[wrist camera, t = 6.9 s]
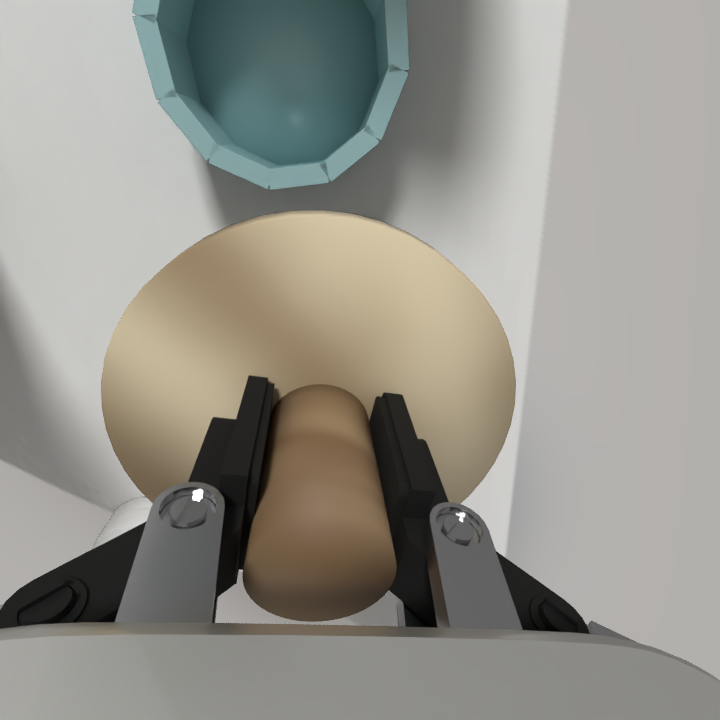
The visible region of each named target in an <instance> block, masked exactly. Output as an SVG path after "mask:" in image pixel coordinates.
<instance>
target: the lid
mask: <svg viewBox="0 0 720 720" xmlns="http://www.w3.org/2000/svg"><path fill="white" fill-rule="evenodd" d="M249 375H251V376H259V377H267V378H268V383H275V386H274V394H273V402H272V409H271V417H270V423H269V429H268V435H267V441H266V447H265V453H264V459H263V465H262V471H261V477H260V483H259V489H258V495H257V501H256V507H255V513H254V519H253V522H252V525H251V528H250V533H249V539H248V545H247V551H246V557H245V562H244V568H243V583H244V587H245V589H246V592H247V593H248V595H249V596H250V598H251V599H252V600H253V601H254V602H255V603H256V604H257V605H259V606H260V607H261V608H263V609H265V610H266V611H268V612H270V613H272V614H275V615H278V616H280V617H283V618H287V619H292V620H298V621H328V620H334V619H339V618H343V617H347V616H350V615H353V614H356V613H358V612H360V611H362V610H364V609H366V608H368V607H370V606H371V605H373V604H374V603H376V602H377V601H378V600H379V599H380V598H382V597H383V596H384V595H385V593H386V592H387V591H388V590H389V588H390V587H391V585H392V583H393V581H394V579H395V575H396V569H397V564H396V558H395V553H394V548H393V543H392V537H391V532H390V527H389V522H388V517H387V511H386V506H385V501H384V496H383V491H382V485H381V480H380V475H379V470H378V465H377V459H376V454H375V449H374V444H373V438H372V433H371V428H370V423H369V421H370V417H371V413H372V409H373V405H374V401H375V398H376V397H377V396H380V397H382V394H383V393H384V392H386V393H394V394H401V395H403V397H404V400H405V403H406V406H407V409H408V412H409V415H410V418H411V421H412V423H413V426H414V429H415V432H416V435H417V438H418V439H424V440H425V441H426V442H427V444H428V447H429V450H430V452H431V455H432V458H433V460H434V463H435V466H436V468H437V471H438V474H439V477H440V479H441V482H442V485H443V487H444V490H445V493H446V495H447V498H448V501H449V502H454V503H457V504H460V503H462V502H463V501H464V500H465V499H466V498H467V497H468V496H469V495H470V494H471V493H472V492H473V491H474V489H475V488H476V487H477V486H478V485H479V484H480V483H481V481H482V480H483V479H484V477H485V476H486V474H487V473H488V472H489V470H490V469H491V467H492V466H493V464H494V463H495V461H496V459H497V457H498V455H499V453H500V451H501V449H502V447H503V445H504V442H505V440H506V437H507V434H508V431H509V428H510V425H511V421H512V416H513V411H514V406H515V390H516V379H515V370H514V361H513V357H512V353H511V349H510V346H509V342H508V338H507V336H506V334H505V332H504V329H503V327H502V325H501V323H500V321H499V318H498V316H497V315H496V313H495V312H494V310H493V309H492V307H491V306H490V304H489V302H488V301H487V299H486V298H485V296H484V295H483V294H482V293H481V292H480V290H479V289H478V288H477V287H476V286H475V285H474V284H473V283H472V282H471V281H470V279H469V278H468V277H467V276H466V275H465V274H464V273H463V272H462V271H460V270H459V269H458V268H457V267H456V266H455V265H454V264H452V263H451V262H450V261H449V260H448V259H446V258H445V257H444V256H443V255H441V254H440V253H439V252H438V251H436V250H435V249H434V248H433V247H431V246H430V245H428V244H427V243H425V242H423V241H422V240H420V239H418V238H416V237H415V236H413V235H411V234H410V233H408V232H406V231H404V230H401V229H399V228H396V227H394V226H391V225H389V224H387V223H384V222H382V221H379V220H375V219H371V218H367V217H363V216H359V215H355V214H351V213H343V212H334V211H325V210H303V211H286V212H280V213H274V214H268V215H262V216H258V217H255V218H251V219H248V220H245V221H242V222H238V223H235V224H232V225H230V226H228V227H225V228H223V229H221V230H219V231H217V232H215V233H213V234H211V235H209V236H207V237H205V238H203V239H202V240H200V241H199V242H197V243H196V244H194V245H193V246H191V247H190V248H188V249H187V250H185V251H184V252H182V253H181V254H180V255H178V256H177V257H176V258H175V259H173V260H172V261H171V262H170V263H168V264H167V265H166V266H165V267H164V268H163V269H162V270H161V271H160V272H158V273H157V274H156V275H155V276H154V277H153V278H152V279H151V280H150V281H149V282H148V283H147V284H145V285H144V286H143V288H142V289H141V290H140V292H139V293H138V294H137V295H136V297H135V298H134V299H133V301H132V302H131V303H130V304H129V306H128V307H127V308H126V310H125V312H124V314H123V315H122V317H121V319H120V321H119V323H118V325H117V327H116V328H115V330H114V332H113V335H112V338H111V341H110V344H109V347H108V350H107V353H106V356H105V360H104V367H103V373H102V380H101V397H102V411H103V416H104V421H105V426H106V430H107V433H108V436H109V439H110V441H111V444H112V447H113V449H114V452H115V454H116V456H117V457H118V459H119V461H120V463H121V465H122V466H123V468H124V470H125V472H126V473H127V474H128V476H129V477H130V478H131V480H132V481H133V482H134V484H135V485H136V486H137V488H138V489H139V490H140V491H141V492H142V493H143V494H144V495H145V496H146V497H147V498H148V499H149V500H150V501H151V502H152V503H154V501H155V499H156V498H157V497H158V496H159V495H160V494H161V493H162V492H163V491H165V490H167V489H168V488H170V487H172V486H175V485H178V484H181V483H187V482H188V480H189V478H190V475H191V473H192V470H193V467H194V465H195V462H196V459H197V457H198V454H199V451H200V449H201V446H202V443H203V441H204V438H205V435H206V433H207V430H208V427H209V425H210V422H211V420H212V418H213V417H219V418H228V419H236V418H237V414H238V411H239V407H240V404H241V400H242V397H243V393H244V390H245V386H246V383H247V379H248V376H249Z"/></svg>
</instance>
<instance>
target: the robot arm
mask: <svg viewBox="0 0 720 720" xmlns="http://www.w3.org/2000/svg"><path fill="white" fill-rule="evenodd" d="M274 386H275V383H268V378H267V377H259V376H251V375H249V376H248V379H247V383H246V386H245V390H244V393H243V397H242V400H241V404H240V407H239V411H238V414H237V418H236V419H228V418H219V417H213V418H212V420H211V422H210V425H209V427H208V430H207V433H206V435H205V438H204V441H203V443H202V446H201V449H200V451H199V454H198V457H197V459H196V462H195V465H194V467H193V470H192V473H191V475H190V478H189V480H188V482H187V483H181V484H178V485H175V486H172V487H170V488H168V489H167V490H165V491H163V492H162V493H161V494H160V495H159V496H158V497H157V498H156V499H155V501H154V503H153V505H152V506H151V509H150V512H149V515H148V519H147V521H146V522H144V523H142V524H140V525H138V526H136V527H135V528H133V529H131V530H129V531H127V532H125V533H123V534H121V535H119V536H117V537H115V538H113V539H111V540H109V541H108V542H106V543H104V544H102V545H100V546H98V547H96V548H94V549H92V550H90V551H88V552H86V553H84V554H83V555H81V556H79V557H77V558H75V559H73V560H71V561H69V562H67V563H65V564H63V565H62V566H59V567H58V568H56V569H54V570H52V571H50V572H48V573H46V574H44V575H42V576H40V577H38V578H37V579H35V580H33V581H31V582H30V583H28V584H26V585H25V586H23V587H22V588H20V589H19V590H17V591H16V593H14V594H13V595H12V596H11V597H10V598H9V599H8V600H7V601H6V602H5V603H4V604H3V605H1V606H0V720H720V680H718V679H717V678H716V677H714V676H713V675H711V674H709V673H708V672H706V671H704V670H703V669H701V668H699V667H697V666H695V665H693V664H692V663H690V662H687V661H686V660H683V659H681V658H679V657H676V656H674V655H671V654H669V653H666V652H664V651H662V650H659V649H656V648H653V647H650V646H647V645H643V644H640V643H637V642H635V641H633V640H631V639H629V638H627V637H625V636H623V635H620V634H618V633H616V632H614V631H612V630H610V629H608V628H606V627H604V626H602V625H599V624H597V623H595V622H593V621H591V622H590V623H589V624H588V625H587V624H585V622H584V620H583V618H582V617H581V616H580V615H579V613H578V612H577V611H576V610H575V609H574V608H573V607H572V606H571V605H570V604H569V603H567V602H566V601H565V600H564V599H562V598H561V597H560V596H558V595H557V594H555V593H554V592H553V591H551V590H550V589H548V588H547V587H545V586H544V585H543V584H541V583H540V582H539V581H537V580H536V579H534V578H533V577H532V576H530V575H529V574H527V573H526V572H525V571H523V570H522V569H520V568H519V567H517V566H516V565H514V564H513V563H512V562H510V561H509V560H508V559H506V558H505V557H503V556H502V555H501V554H499V553H498V552H496V550H495V547H494V544H493V541H492V539H491V536H490V533H489V530H488V528H487V526H486V524H485V522H484V521H483V520H482V519H481V517H480V516H479V515H478V514H476V513H475V512H474V511H473V510H471V509H470V508H468V507H466V506H464V505H461V504H457V503H454V502H449V501H448V498H447V495H446V493H445V490H444V487H443V485H442V482H441V479H440V477H439V474H438V471H437V468H436V466H435V463H434V460H433V458H432V455H431V452H430V450H429V447H428V444H427V442H426V441H425V440H424V439H418V438H417V435H416V432H415V429H414V426H413V423H412V421H411V418H410V415H409V412H408V409H407V406H406V403H405V400H404V397H403V395H401V394H394V393H386V392H384V393H383V394H382V397H380V396H377V397H376V398H375V401H374V405H373V409H372V413H371V417H370V421H369V423H370V428H371V433H372V438H373V444H374V449H375V454H376V459H377V465H378V470H379V475H380V480H381V485H382V491H383V496H384V501H385V506H386V511H387V517H388V522H389V527H390V532H391V537H392V543H393V548H394V553H395V558H396V564H397V569H396V575H395V579H394V581H393V583H392V585H391V587H390V588H389V590H390V591H391V592H392V593H393V594H394V595H395V596H397V597H398V598H397V616H398V627H391V626H346V625H298V624H297V625H296V624H240V623H239V624H238V623H215V618H216V609H217V608H216V607H217V598H218V596H220V595H221V594H222V593H223V592H225V591H226V590H228V589H229V588H230V587H231V586H233V585H234V584H236V582H237V575H238V571H239V569H241V570H243V568H244V562H245V557H246V551H247V545H248V539H249V533H250V528H251V525H252V522H253V519H254V513H255V507H256V501H257V495H258V489H259V483H260V477H261V471H262V465H263V459H264V453H265V447H266V441H267V435H268V429H269V423H270V417H271V409H272V402H273V394H274Z"/></svg>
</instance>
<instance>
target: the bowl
mask: <svg viewBox="0 0 720 720" xmlns="http://www.w3.org/2000/svg"><path fill="white" fill-rule="evenodd" d="M132 12H133V13H134V14H135V15H137V16H133V20H134V24H135V27H136V31H137V34H138V38H139V41H140V45H141V48H142V52H143V55H144V59H145V62H146V66H147V69H148V73H149V76H150V80H151V83H152V87H153V90H154V94H155V97H156V99H157V100H160V101H159V102H158V103H159V105H160V106H161V107H162V108H163V109H164V111H165V112H166V113H167V114H168V115H169V117H170V118H171V119H172V120H173V122H174V123H175V124H176V125H177V126H178V128H179V129H180V130H181V131H182V132H183V134H184V135H185V136H186V137H187V139H188V140H189V141H190V142H191V143H192V145H193V146H194V147H195V148H196V149H197V151H198V152H199V153H200V154H201V156H202V157H203V158H204V159H205V160H206V161H209V163H210V164H212V165H214V166H216V167H219V168H221V169H223V170H225V171H228V172H230V173H232V174H234V175H237V176H239V177H241V178H243V179H246V180H248V181H250V182H252V183H254V184H257V185H259V186H261V187H263V188H266V189H269V188H270V190H273V189H281V188H290V187H298V186H306V185H315V184H323V183H329V179H330V181H331V182H332V181H333V180H334V179H335V178H337V177H338V176H339V175H340V174H341V173H343V172H344V171H345V170H346V169H348V168H349V167H350V166H351V165H353V164H354V163H355V162H356V161H357V160H359V159H360V158H361V157H362V156H364V155H365V154H366V153H367V152H369V151H370V150H371V149H372V148H373V147H375V146H376V145H377V144H378V143H379V140H381V139H382V137H383V135H384V132H385V130H386V127H387V125H388V122H389V120H390V118H391V115H392V113H393V110H394V108H395V105H396V103H397V101H398V98H399V96H400V93H401V91H402V88H403V86H404V84H405V81H406V79H407V76H408V74H409V73H407V71H409V50H408V25H407V1H406V0H134V4H133V10H132Z"/></svg>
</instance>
